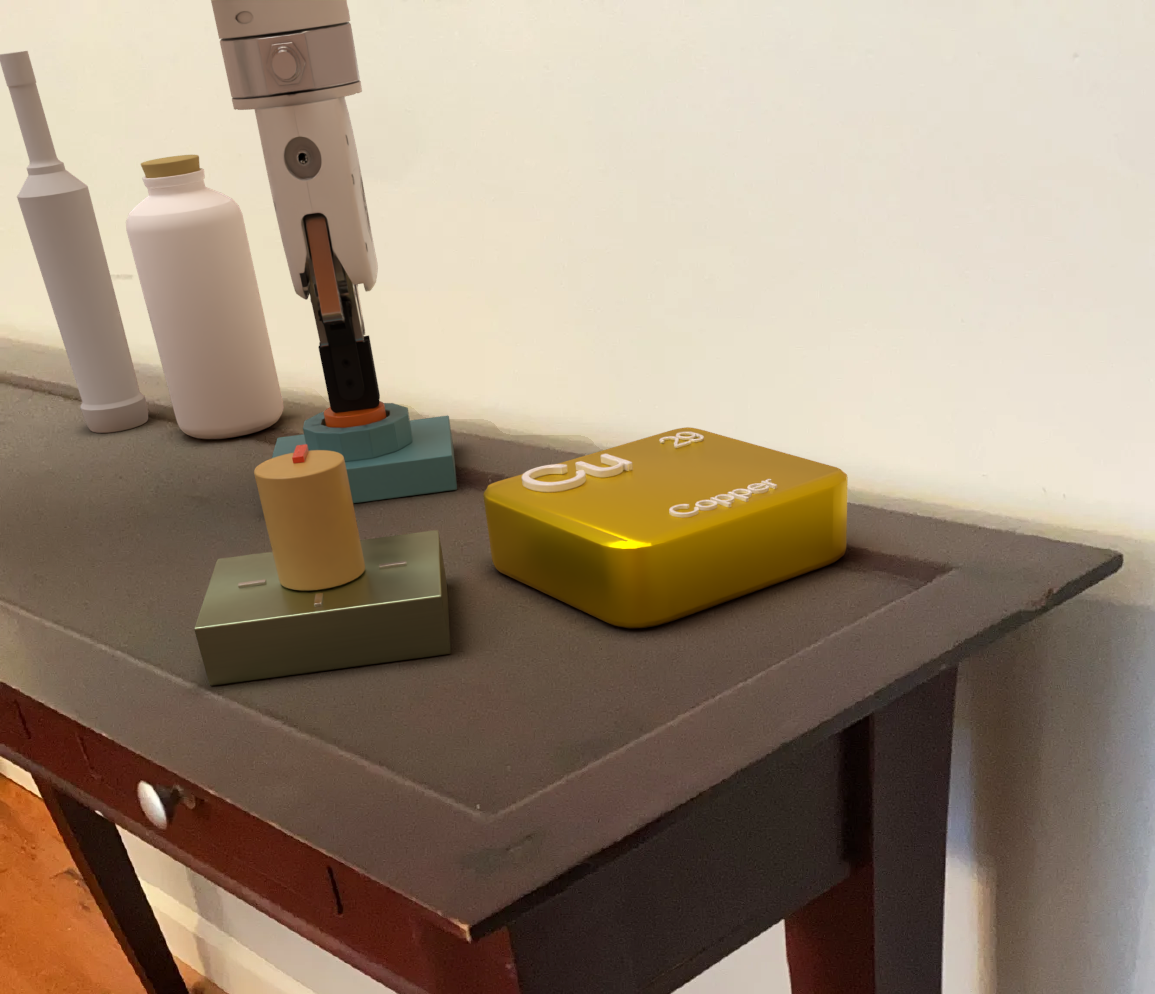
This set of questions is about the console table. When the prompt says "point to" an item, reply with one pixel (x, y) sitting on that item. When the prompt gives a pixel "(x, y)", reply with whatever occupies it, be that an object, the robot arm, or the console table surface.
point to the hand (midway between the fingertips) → (356, 406)
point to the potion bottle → (203, 303)
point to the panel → (325, 614)
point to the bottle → (73, 266)
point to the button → (354, 417)
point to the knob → (310, 519)
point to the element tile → (666, 525)
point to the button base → (385, 453)
